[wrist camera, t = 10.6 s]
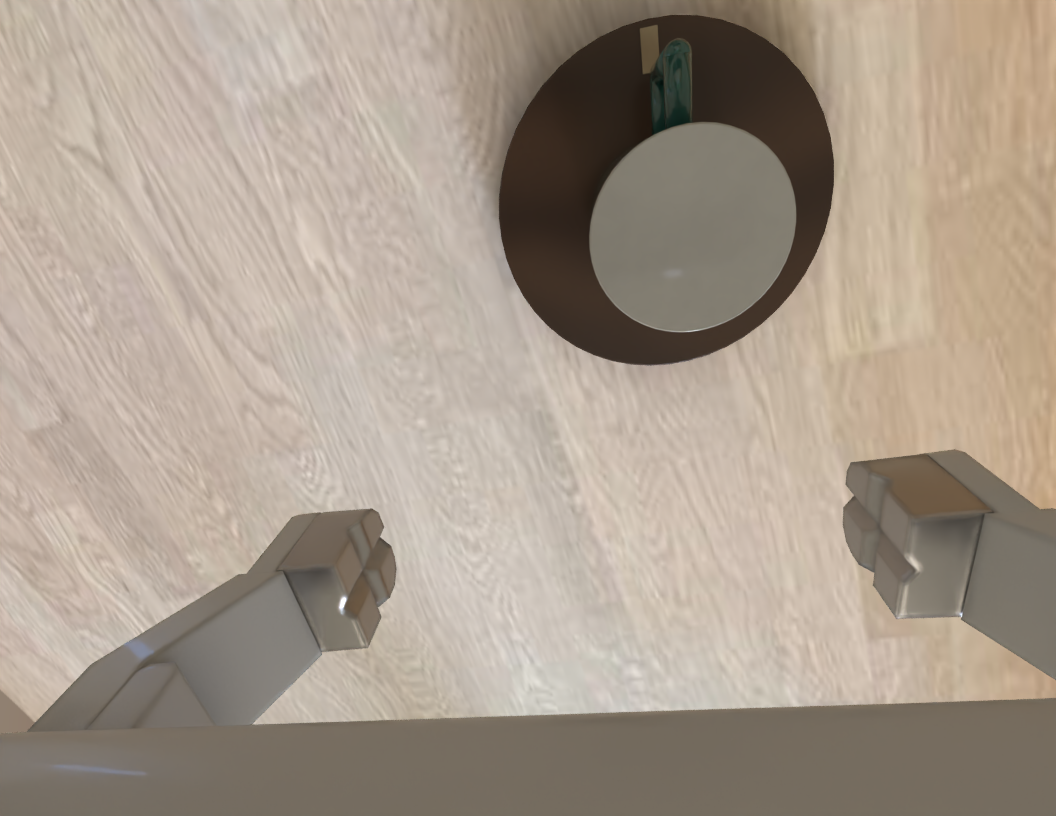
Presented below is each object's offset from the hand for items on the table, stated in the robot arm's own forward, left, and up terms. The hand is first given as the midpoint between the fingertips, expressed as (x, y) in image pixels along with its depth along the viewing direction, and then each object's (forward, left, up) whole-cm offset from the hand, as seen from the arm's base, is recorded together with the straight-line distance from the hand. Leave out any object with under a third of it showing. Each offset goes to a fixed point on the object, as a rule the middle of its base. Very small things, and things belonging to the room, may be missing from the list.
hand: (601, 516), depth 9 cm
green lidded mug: (-4, +4, -18) cm, 19 cm away
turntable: (-3, +4, -20) cm, 21 cm away
